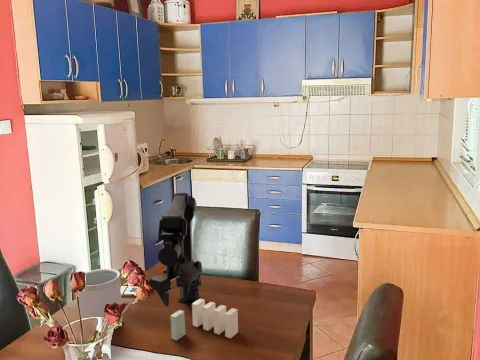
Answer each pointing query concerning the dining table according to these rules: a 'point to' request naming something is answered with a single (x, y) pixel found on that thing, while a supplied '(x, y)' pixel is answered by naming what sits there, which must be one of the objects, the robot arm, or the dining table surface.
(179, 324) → the sage domino
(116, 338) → the dining table surface
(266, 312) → the dining table surface
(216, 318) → the cream domino
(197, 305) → the cream domino
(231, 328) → the cream domino
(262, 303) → the dining table surface
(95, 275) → the utensil holder
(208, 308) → the cream domino
